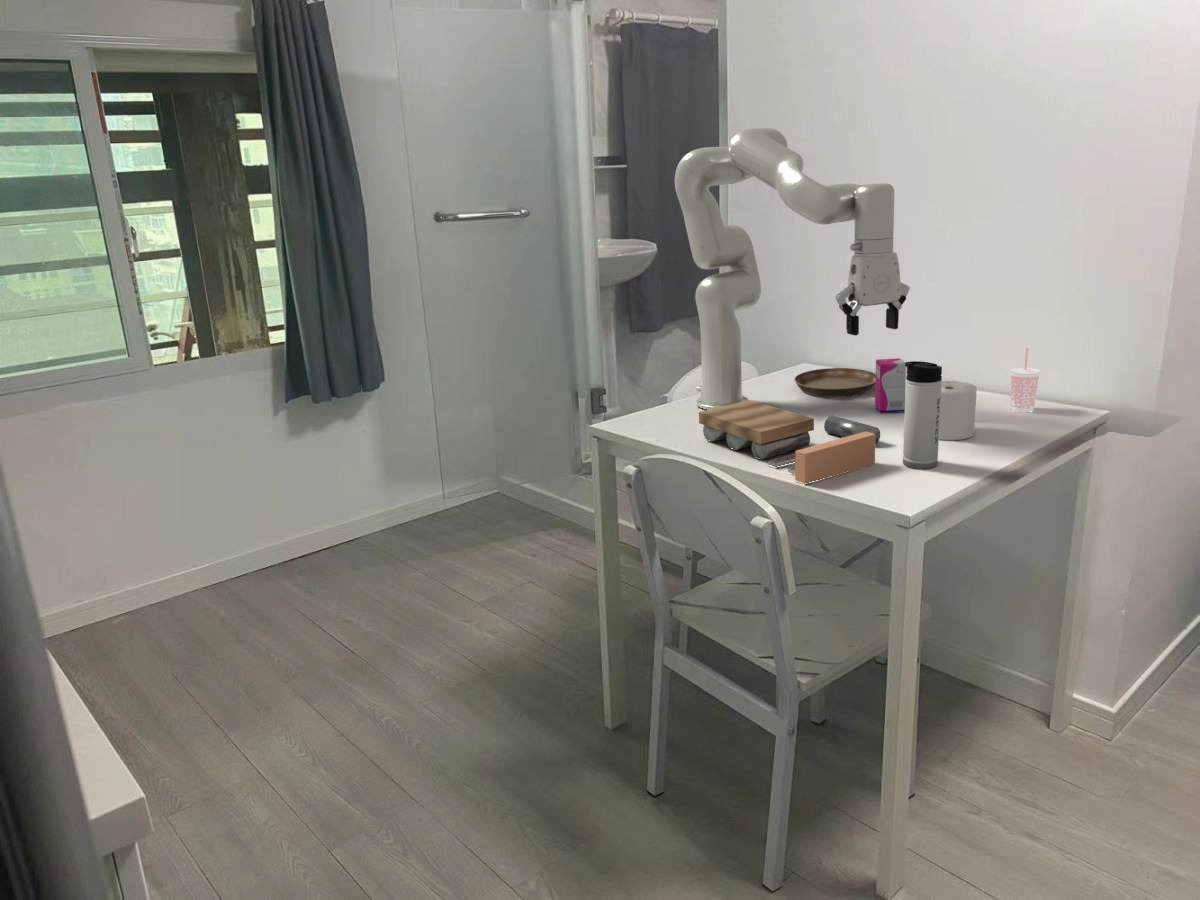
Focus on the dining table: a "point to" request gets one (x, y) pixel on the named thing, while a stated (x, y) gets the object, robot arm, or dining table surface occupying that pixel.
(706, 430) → the rear roller
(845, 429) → the roller
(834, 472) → the bar
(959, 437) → the toilet tissue
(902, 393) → the supplement box
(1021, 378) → the beverage cup
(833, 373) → the plant saucer
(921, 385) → the travel mug
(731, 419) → the slab
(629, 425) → the dining table surface
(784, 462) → the cradle
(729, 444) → the middle roller
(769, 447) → the cylinder
